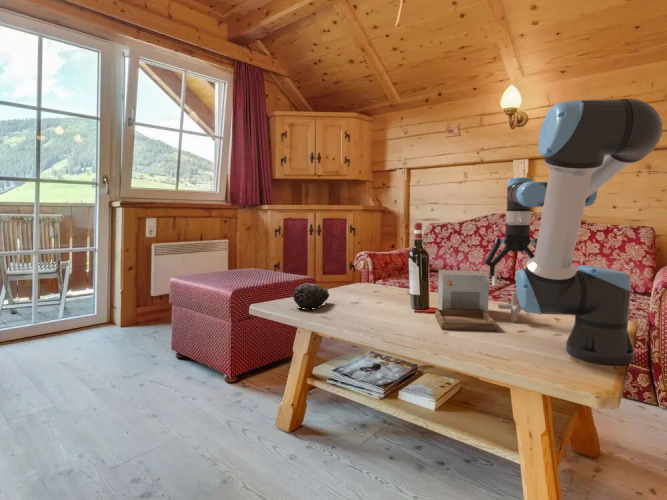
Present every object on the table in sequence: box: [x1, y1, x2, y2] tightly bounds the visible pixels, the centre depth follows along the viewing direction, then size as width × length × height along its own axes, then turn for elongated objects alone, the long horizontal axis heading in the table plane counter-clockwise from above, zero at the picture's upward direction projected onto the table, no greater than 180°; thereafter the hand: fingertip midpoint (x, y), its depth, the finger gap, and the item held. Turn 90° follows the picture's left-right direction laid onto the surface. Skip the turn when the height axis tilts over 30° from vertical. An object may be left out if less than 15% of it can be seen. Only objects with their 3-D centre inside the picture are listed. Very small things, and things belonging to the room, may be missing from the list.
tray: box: [434, 308, 498, 333], centre depth 139 cm, size 17×17×2 cm
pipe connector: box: [497, 291, 524, 323], centre depth 141 cm, size 10×10×10 cm
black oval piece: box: [292, 282, 330, 309], centre depth 163 cm, size 10×18×10 cm, turn 156°
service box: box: [437, 269, 490, 315], centre depth 153 cm, size 13×16×15 cm
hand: (514, 286), depth 141 cm, fingers open, 13 cm apart
